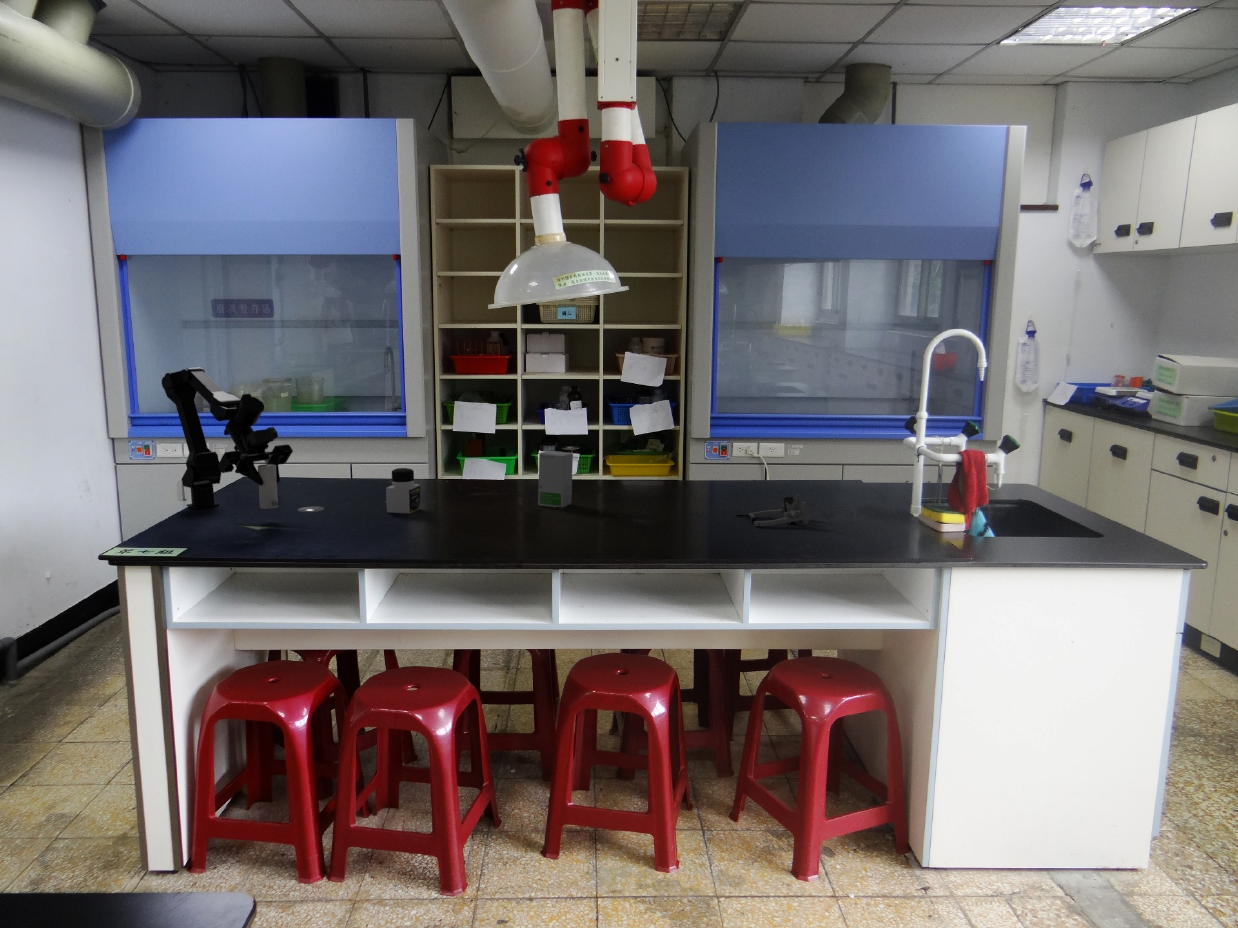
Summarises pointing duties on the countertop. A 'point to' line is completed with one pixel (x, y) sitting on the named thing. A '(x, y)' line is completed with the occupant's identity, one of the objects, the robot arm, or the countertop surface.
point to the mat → (256, 527)
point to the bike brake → (788, 509)
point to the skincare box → (555, 478)
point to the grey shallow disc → (310, 509)
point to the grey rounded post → (268, 486)
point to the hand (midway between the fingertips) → (270, 483)
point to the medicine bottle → (403, 492)
